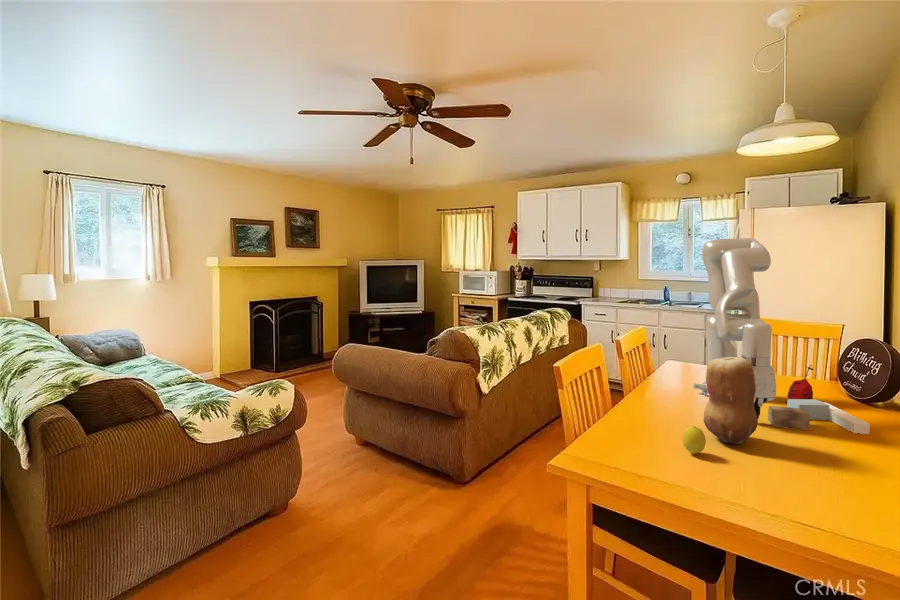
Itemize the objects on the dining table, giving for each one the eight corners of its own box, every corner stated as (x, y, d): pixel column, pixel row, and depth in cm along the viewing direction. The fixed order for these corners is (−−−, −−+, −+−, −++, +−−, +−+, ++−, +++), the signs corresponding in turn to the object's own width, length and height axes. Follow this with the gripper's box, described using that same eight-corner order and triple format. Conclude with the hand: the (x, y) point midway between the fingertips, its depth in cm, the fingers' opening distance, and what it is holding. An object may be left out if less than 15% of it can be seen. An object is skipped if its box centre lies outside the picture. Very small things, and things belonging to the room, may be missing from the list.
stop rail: (853, 433, 131) (854, 423, 131) (812, 410, 151) (812, 402, 151) (869, 434, 130) (869, 424, 130) (825, 411, 150) (826, 402, 150)
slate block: (798, 419, 143) (799, 405, 143) (786, 413, 149) (787, 399, 149) (828, 420, 142) (829, 405, 142) (815, 413, 148) (816, 399, 148)
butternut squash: (699, 430, 137) (701, 351, 134) (749, 435, 132) (752, 353, 130) (708, 448, 124) (711, 361, 121) (765, 454, 119) (768, 364, 117)
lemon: (702, 451, 122) (703, 423, 121) (707, 459, 117) (708, 430, 116) (680, 448, 124) (681, 421, 123) (684, 457, 119) (684, 428, 118)
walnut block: (773, 427, 138) (774, 411, 138) (768, 420, 144) (768, 405, 143) (808, 430, 135) (809, 414, 134) (802, 423, 140) (802, 408, 140)
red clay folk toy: (795, 399, 162) (796, 359, 161) (817, 405, 156) (819, 363, 155) (783, 403, 159) (785, 362, 158) (805, 408, 153) (807, 366, 152)
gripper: (734, 363, 137) (733, 420, 138) (789, 364, 134) (786, 422, 136) (724, 358, 144) (723, 412, 146) (775, 358, 141) (773, 414, 143)
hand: (753, 417), depth 141 cm, fingers closed
